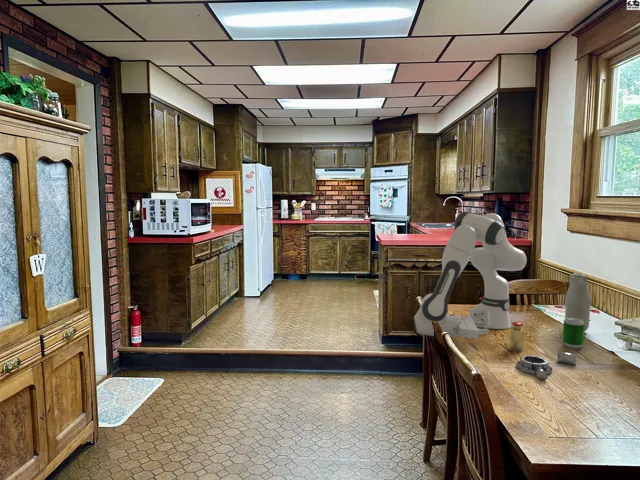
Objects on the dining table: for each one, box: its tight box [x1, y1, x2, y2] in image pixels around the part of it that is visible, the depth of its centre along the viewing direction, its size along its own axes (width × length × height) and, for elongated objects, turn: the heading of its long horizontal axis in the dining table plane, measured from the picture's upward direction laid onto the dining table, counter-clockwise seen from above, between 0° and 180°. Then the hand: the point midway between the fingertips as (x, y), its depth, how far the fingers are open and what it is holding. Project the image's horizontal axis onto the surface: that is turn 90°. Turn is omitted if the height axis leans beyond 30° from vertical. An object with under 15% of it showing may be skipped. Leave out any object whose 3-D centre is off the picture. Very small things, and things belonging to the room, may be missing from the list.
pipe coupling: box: [557, 351, 577, 366], centre depth 165 cm, size 6×4×4 cm, turn 54°
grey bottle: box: [564, 272, 592, 332], centre depth 201 cm, size 10×10×28 cm
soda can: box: [562, 317, 585, 350], centre depth 183 cm, size 8×8×12 cm
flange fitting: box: [515, 354, 553, 382], centre depth 157 cm, size 12×16×4 cm
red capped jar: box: [509, 321, 525, 353], centre depth 179 cm, size 5×5×12 cm
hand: (486, 328), depth 180 cm, fingers open, 8 cm apart
